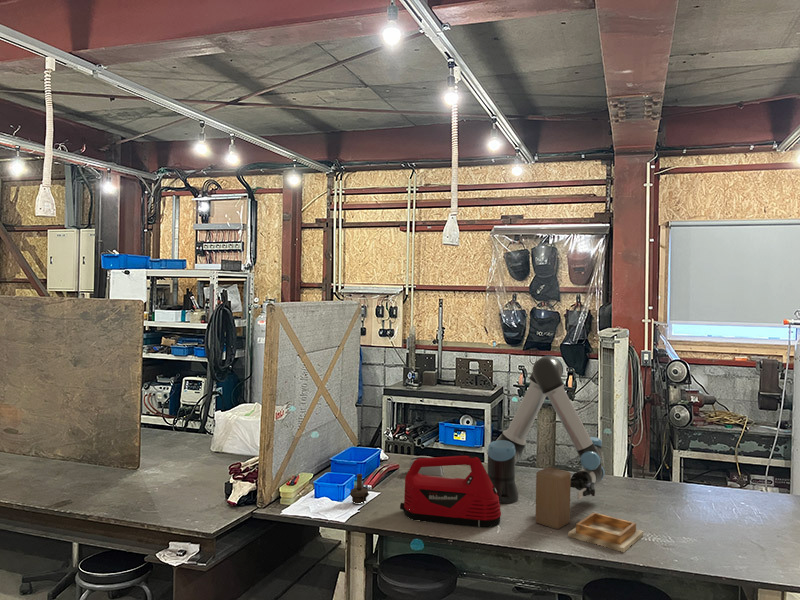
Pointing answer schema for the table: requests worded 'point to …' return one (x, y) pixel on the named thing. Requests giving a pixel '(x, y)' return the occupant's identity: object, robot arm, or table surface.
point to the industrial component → (359, 491)
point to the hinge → (428, 468)
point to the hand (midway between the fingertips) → (561, 491)
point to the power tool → (451, 494)
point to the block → (553, 497)
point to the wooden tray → (606, 532)
